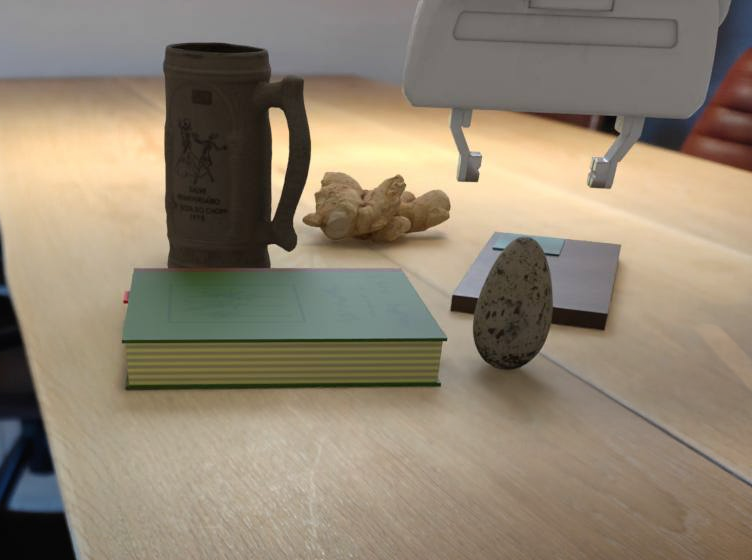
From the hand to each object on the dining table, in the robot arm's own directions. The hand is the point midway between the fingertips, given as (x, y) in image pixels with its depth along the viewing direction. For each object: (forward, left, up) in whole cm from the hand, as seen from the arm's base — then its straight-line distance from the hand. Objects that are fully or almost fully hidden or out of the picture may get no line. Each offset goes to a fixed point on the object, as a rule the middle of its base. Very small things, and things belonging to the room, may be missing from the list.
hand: (532, 184), depth 66 cm
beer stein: (+24, -24, -14) cm, 36 cm away
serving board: (-7, -25, -14) cm, 29 cm away
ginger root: (+11, -41, -14) cm, 45 cm away
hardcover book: (+19, -3, -14) cm, 24 cm away
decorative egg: (0, 0, -14) cm, 14 cm away
